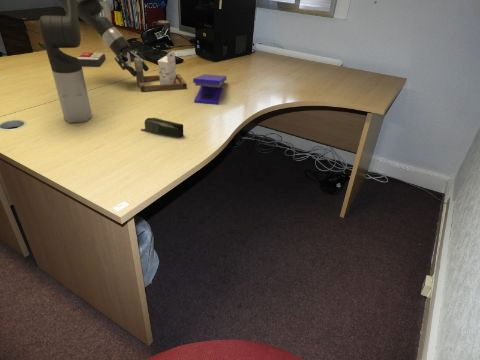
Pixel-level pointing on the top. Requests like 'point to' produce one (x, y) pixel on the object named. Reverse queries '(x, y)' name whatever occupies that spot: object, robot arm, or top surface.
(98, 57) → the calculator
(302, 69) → the top surface
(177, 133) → the black desk stapler
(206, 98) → the stapler
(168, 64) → the ink cartridge box
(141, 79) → the rectangular wooden frame
